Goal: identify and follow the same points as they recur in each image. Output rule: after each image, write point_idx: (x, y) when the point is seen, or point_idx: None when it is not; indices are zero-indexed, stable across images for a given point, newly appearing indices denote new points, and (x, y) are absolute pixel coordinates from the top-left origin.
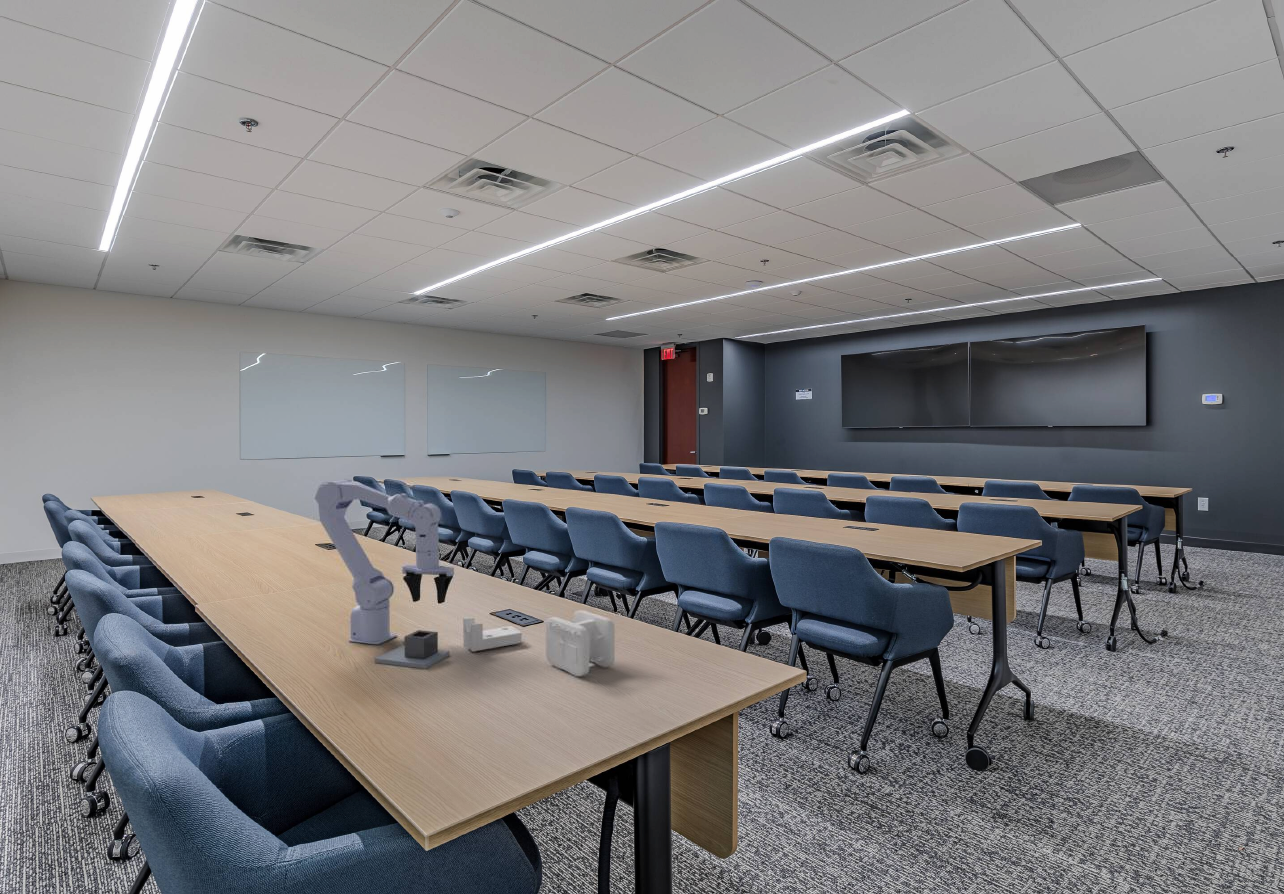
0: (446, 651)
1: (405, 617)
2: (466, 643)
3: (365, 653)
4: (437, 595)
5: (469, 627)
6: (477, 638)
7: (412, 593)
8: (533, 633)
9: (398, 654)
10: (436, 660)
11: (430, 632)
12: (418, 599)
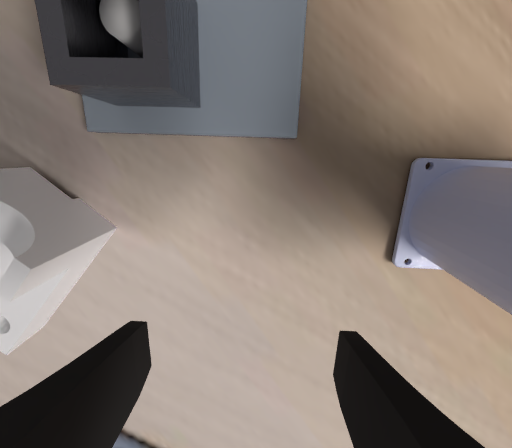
0: (95, 125)
1: (462, 425)
2: (79, 212)
3: (410, 54)
4: (100, 359)
5: (28, 244)
6: None
7: (384, 378)
8: (17, 370)
9: (243, 29)
10: None
11: (79, 65)
12: (336, 368)
